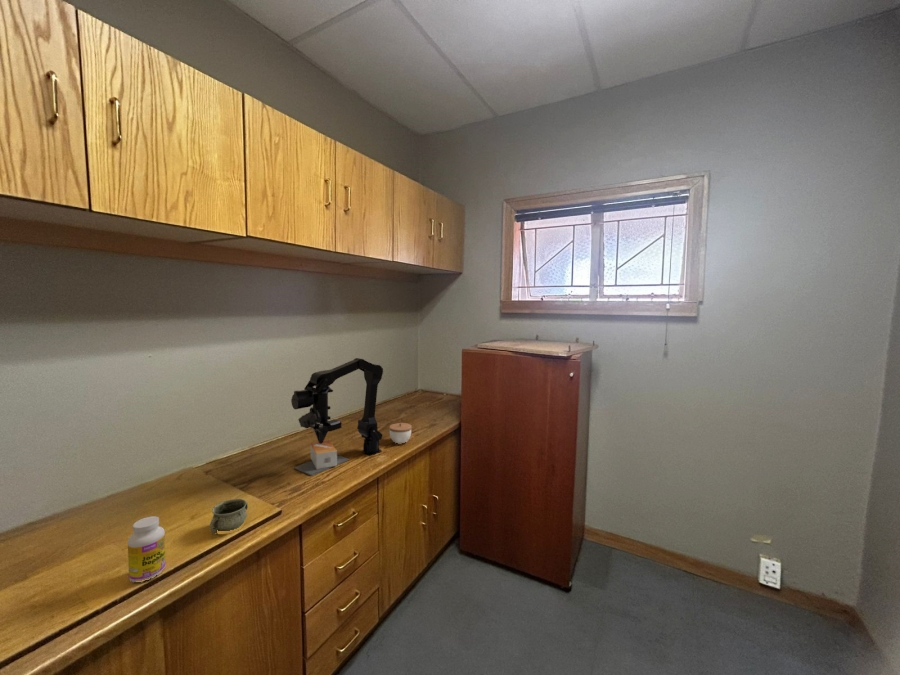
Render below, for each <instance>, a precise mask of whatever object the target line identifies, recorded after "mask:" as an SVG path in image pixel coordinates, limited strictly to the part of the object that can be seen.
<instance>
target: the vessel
mask: <svg viewBox="0 0 900 675" xmlns="http://www.w3.org/2000/svg"><path fill="white" fill-rule="evenodd" d="M248 507H249V504H248V502H247V501H246V500H245V499H243V498H234V499H228V500H227V499H226V500H225V501H222V502H219V503H218V504H216V505H215V506H213V508H212V509H211V510H212V511H211V512H212V514H213V516H212V519H211V521H210V523H209V530H210V531H212V533H211V534H212V535H216V534H215V533H217V530H218V531H230V530H234V529H237V528H239V527H240V526H241V525H242V524H243V523H244V522H245V520H246V519H247V517H248V514H247V510H248Z"/></svg>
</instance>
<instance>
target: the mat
mask: <svg viewBox="0 0 900 675" xmlns="http://www.w3.org/2000/svg"><path fill="white" fill-rule="evenodd" d="M348 461H350V458H347V457H346V456H342V455H338V454H337V465H336V466H332V467H327V468H322V469H316V467H315V465H314V464H313V462H312V460H310V461H307V462H304V463H302V464H300V465H297V466H294V470H297V471H299V472H301V473H304V474H306V475H308V476H310V477H312V476H315V475H317V474H320V473H322V472H325V471H327V470H329V469H331V468H334V467H337V466H338V465H341V464H343V463H346V462H348Z"/></svg>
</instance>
